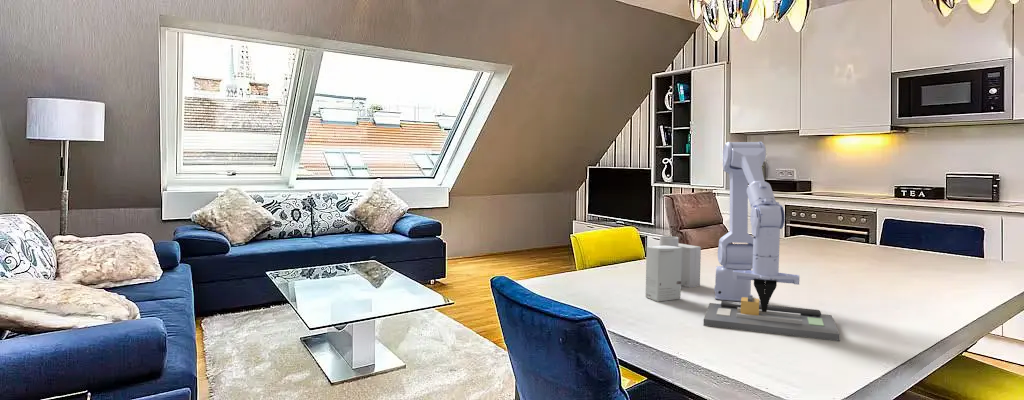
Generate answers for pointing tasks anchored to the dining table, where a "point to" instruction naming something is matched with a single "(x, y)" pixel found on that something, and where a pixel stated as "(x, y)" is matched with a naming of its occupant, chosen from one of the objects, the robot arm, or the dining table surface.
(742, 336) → the dining table surface
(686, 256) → the white box
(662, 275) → the skincare box
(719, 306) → the grey base plate
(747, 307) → the switch
